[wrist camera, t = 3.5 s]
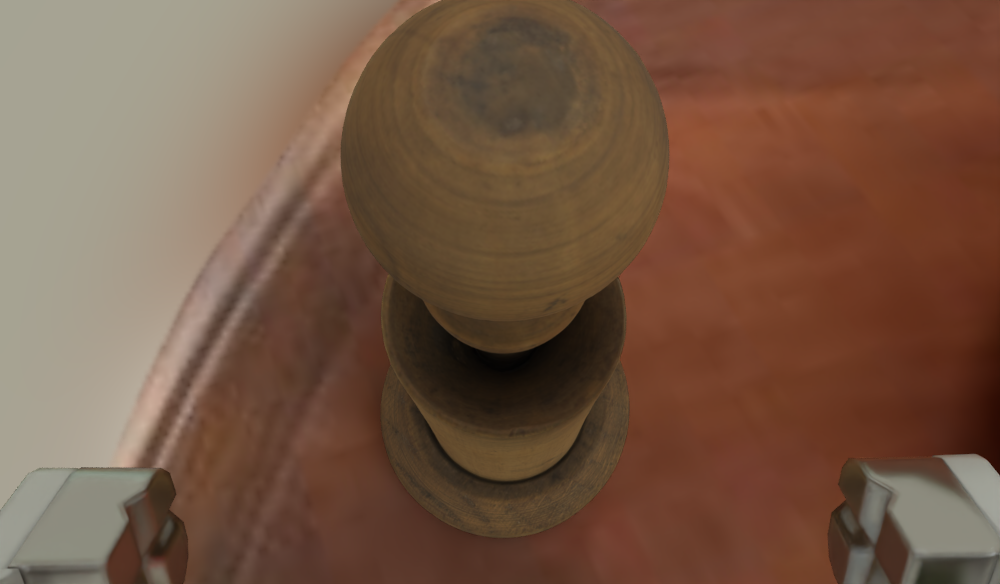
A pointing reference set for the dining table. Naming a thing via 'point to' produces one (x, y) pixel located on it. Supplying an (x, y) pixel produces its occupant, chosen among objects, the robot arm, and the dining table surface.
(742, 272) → the dining table surface
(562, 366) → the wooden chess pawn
